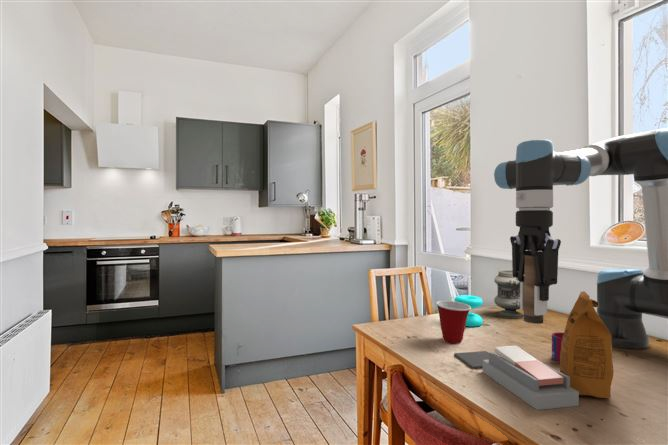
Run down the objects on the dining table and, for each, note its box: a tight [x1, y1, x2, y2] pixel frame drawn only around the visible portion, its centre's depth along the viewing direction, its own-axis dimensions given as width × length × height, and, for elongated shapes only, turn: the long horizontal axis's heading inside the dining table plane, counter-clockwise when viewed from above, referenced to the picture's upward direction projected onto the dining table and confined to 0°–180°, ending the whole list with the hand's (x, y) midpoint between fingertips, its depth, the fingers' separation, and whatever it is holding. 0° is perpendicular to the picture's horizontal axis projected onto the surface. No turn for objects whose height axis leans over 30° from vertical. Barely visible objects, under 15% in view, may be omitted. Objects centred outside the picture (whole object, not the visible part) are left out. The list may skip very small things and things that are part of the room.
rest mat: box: [453, 350, 489, 370], centre depth 107 cm, size 10×10×1 cm
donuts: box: [453, 294, 484, 328], centre depth 143 cm, size 10×10×10 cm
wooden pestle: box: [523, 255, 544, 325], centre depth 88 cm, size 4×4×15 cm
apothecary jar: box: [493, 269, 524, 319], centre depth 155 cm, size 12×12×18 cm
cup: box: [551, 331, 564, 364], centre depth 106 cm, size 7×10×7 cm
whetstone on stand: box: [482, 351, 580, 411], centre depth 90 cm, size 10×20×6 cm, turn 11°
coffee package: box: [559, 291, 615, 399], centre depth 89 cm, size 10×12×22 cm
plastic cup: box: [436, 300, 472, 344], centre depth 124 cm, size 11×11×12 cm
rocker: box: [493, 345, 564, 386], centre depth 90 cm, size 16×6×1 cm, turn 11°
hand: (533, 311), depth 88 cm, fingers closed on wooden pestle, 4 cm apart
